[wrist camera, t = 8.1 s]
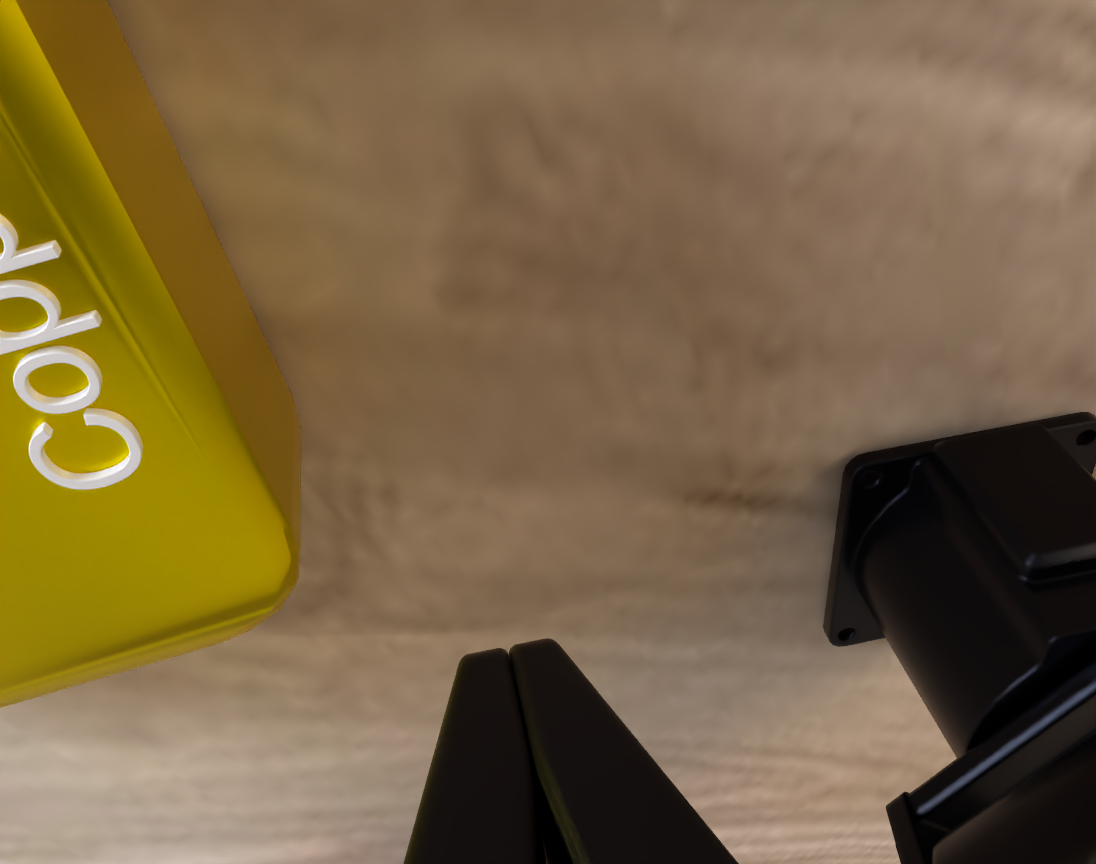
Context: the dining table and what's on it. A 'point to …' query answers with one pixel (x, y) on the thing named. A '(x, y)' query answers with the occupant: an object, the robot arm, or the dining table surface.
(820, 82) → the dining table surface
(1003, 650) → the robot arm
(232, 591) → the element tile
